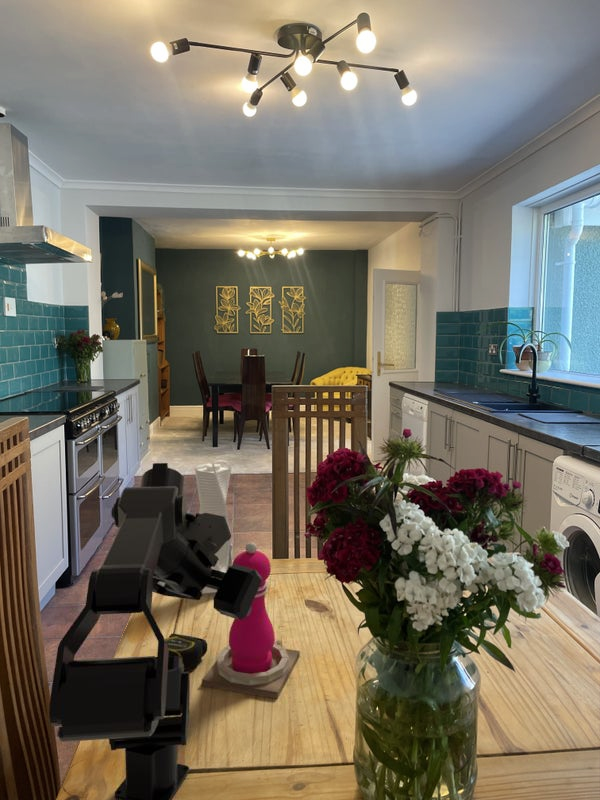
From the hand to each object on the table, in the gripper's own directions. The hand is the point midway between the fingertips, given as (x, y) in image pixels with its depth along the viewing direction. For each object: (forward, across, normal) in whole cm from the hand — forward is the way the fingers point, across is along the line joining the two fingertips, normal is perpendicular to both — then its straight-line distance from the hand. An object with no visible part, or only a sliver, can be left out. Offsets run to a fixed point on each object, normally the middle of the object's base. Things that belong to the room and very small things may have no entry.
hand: (224, 604), depth 87 cm
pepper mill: (+14, 0, +4) cm, 14 cm away
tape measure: (+12, +12, +8) cm, 18 cm away
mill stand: (+14, 0, +5) cm, 15 cm away
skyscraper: (+29, +25, -10) cm, 40 cm away
